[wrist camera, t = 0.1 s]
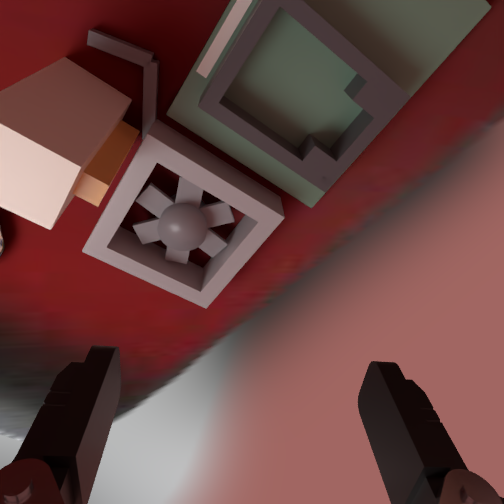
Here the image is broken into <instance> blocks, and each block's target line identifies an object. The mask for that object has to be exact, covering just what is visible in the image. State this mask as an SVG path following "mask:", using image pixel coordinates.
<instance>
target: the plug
mask: <svg viewBox="0 0 504 504" xmlns="http://www.w3.org/2000/svg"><path fill="white" fill-rule="evenodd" d="M131 101H132V99H130V98H129V97H127V96H126V95H124V94H122V93H121V92H119V91H118V90H116V89H115V88H113V87H111V86H110V85H108V84H107V83H105V82H104V81H102V80H100V79H99V78H97V77H96V76H94V75H93V74H91V73H89V72H88V71H86V70H85V69H83V68H82V67H80V66H78V65H77V64H75V63H74V62H72V61H71V60H69V59H67V58H66V57H64V58H62V59H60V60H58V61H57V62H55V63H53V64H51V65H49V66H47V67H45V68H43V69H42V70H40V71H38V72H36V73H34V74H32V75H30V76H28V77H27V78H25V79H23V80H21V81H19V82H17V83H15V84H13V85H12V86H10V87H8V88H6V89H4V90H2V91H0V207H2V208H4V209H6V210H9V211H11V212H13V213H15V214H17V215H19V216H21V217H24V218H26V219H28V220H30V221H32V222H34V223H36V224H39V225H41V226H43V227H45V228H47V229H49V230H51V229H52V228H53V226H54V225H55V223H56V222H57V220H58V219H59V217H60V216H61V215H62V213H63V212H64V210H65V209H66V207H67V206H68V204H69V203H70V202H71V200H72V199H73V197H74V196H75V195H76V196H78V197H80V198H82V199H84V200H86V201H88V202H90V203H92V204H94V205H96V206H99V204H100V202H101V200H102V198H103V197H104V195H105V193H106V191H107V190H108V188H109V186H110V184H111V183H112V181H113V179H114V177H115V175H116V174H117V172H118V170H119V168H120V167H121V165H122V163H123V161H124V159H125V158H126V156H127V154H128V152H129V151H130V149H131V147H132V145H133V143H134V141H135V140H136V138H137V136H138V134H139V132H140V131H139V130H137V129H135V128H134V127H132V126H130V125H129V124H127V123H126V122H124V121H122V119H123V117H124V115H125V113H126V111H127V109H128V107H129V105H130V103H131Z"/></svg>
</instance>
